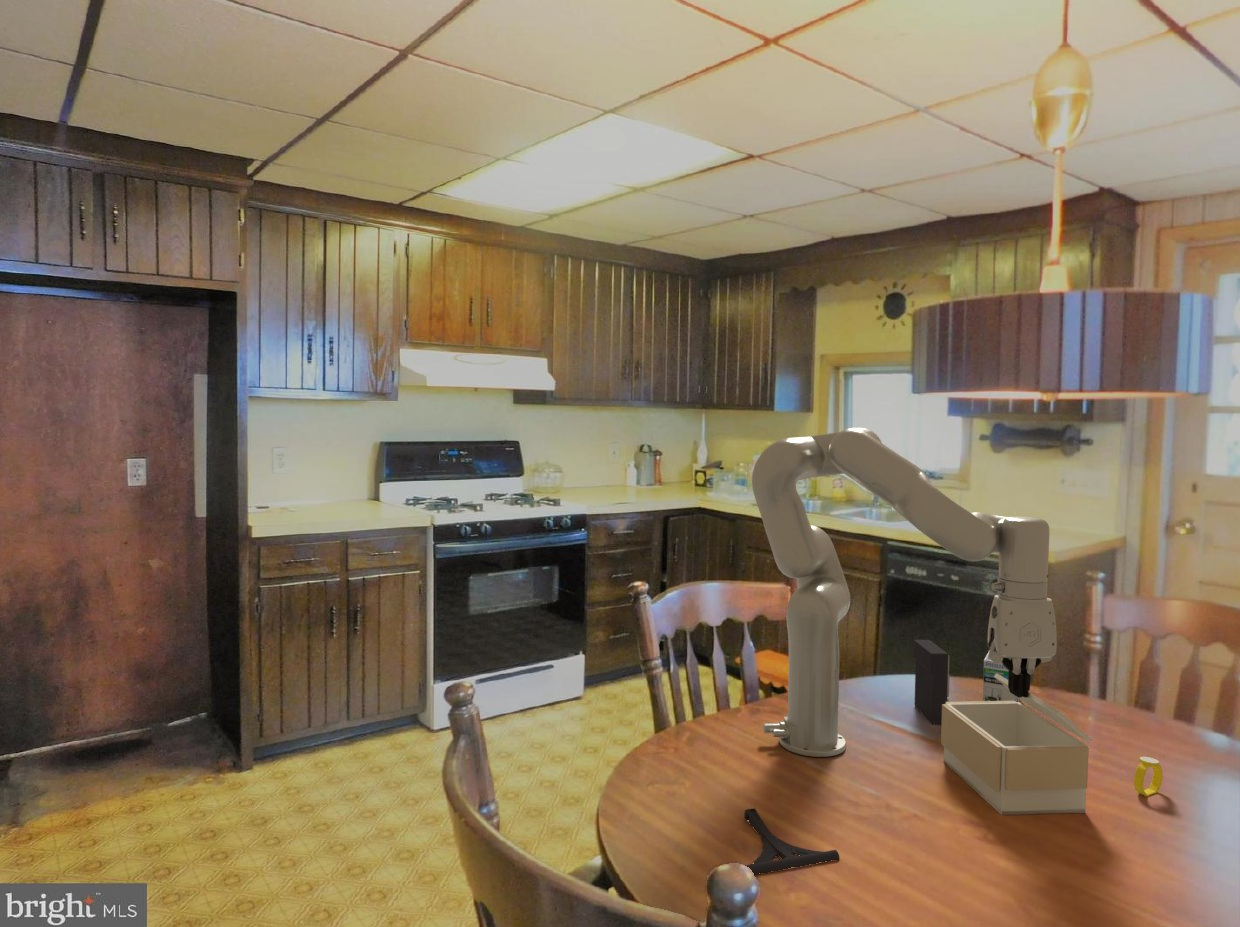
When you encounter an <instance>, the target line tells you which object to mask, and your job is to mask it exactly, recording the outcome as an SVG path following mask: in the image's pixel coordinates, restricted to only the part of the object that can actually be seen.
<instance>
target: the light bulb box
mask: <svg viewBox="0 0 1240 927" xmlns="http://www.w3.org/2000/svg"><path fill="white" fill-rule="evenodd" d="M989 651H990V649H988V653H987V654H986V655H985V657H984V659H983V679H982V680H983V682H982V684H983V685H982V701H1016V702H1019V703H1020V701H1021V700H1020V699H1019V698H1018V697H1017V696H1015V695H1014V694H1012V693H1010V691H1009V689H1008V688H1006V687H1005V686H1004V685H1003V684H1002V683H1001V682H1000V681H998V680H997V679H996V678H995V677H994V675H995V674H996V673H997V674H999V675H1001V676H1002V677H1004V678H1006V679H1007V680H1008V674H1009V670H1007V669H1006V667H1005V666H1004V665H1003V664H1001V663H997V662H993V661H991V660H990V659H988V655H989ZM1019 661H1020V658H1019Z"/></svg>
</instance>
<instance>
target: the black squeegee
mask: <svg viewBox="0 0 1240 927" xmlns="http://www.w3.org/2000/svg"><path fill="white" fill-rule="evenodd" d="M743 814H744V815H743V816H744V817H743V818H744V820H745V819H746V820H749V823H750V824H749V823H748V824H749V826H750V827H751V826H752V827H754V829H755V830H756V831H757V832H758V833H757V832H756V831H755V830H754V829H753V830H754V831H755V832H756V833H757V834H758V835H759V834H760V835H761V836H760V835H759V836H760V837H761V842H762V847H763V848H762V852H761V853H760V855H759V856H758V857H757V858H756V859H755V860H754V861H753V862H754V864H751V863H750V864H747V865H745V866H747V867H749V868H750V869H751V870H752V872H753V873H754V875H755V876H759V875H762V874H761V873H766V874H769V873H768V872H771V871H777V872H779V871H778V870H782V871H784V870H783V869H788V868H791V867H799V868H801V867H800V866H804V867H806V866H805V865H809V864H815V865H817V864H816V863H819V862H825V861H831V860H837V861H840V860H841V859H840V854H839V852H838V851H837V850H836V849H831V850H826V851H821V850H813V849H807V848H803V847H799V846H796V845H793V844H791V843H789V842H786V841H784V840H782V839H780V838H778V837H777V836H775V835H774V834H773V833H772V832H771V830H770V829H769V828H768V827H767V826H766V824H765V822H764V820H763V819H762V817H761V816H760V815H759V812H758V810H757V809H756V808H755V807H754V808H748V809H745V810H744V813H743ZM746 820H745V821H746ZM752 827H751V828H752ZM793 854H797V855H800V856H797V855H793ZM778 855H779V856H780V857H781V858H782V859H781V858H780V857H779V856H778ZM775 856H777V857H779V859H775V858H776V857H775ZM774 857H775V858H774ZM773 858H774V859H773ZM788 870H789V869H788ZM759 873H760V874H759ZM771 873H772V872H771Z"/></svg>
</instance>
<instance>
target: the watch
mask: <svg viewBox="0 0 1240 927" xmlns="http://www.w3.org/2000/svg"><path fill="white" fill-rule="evenodd" d="M1160 764H1161V763H1160V761H1159V760H1158V759H1156V758H1153V757H1149V756H1140V757H1139V764H1138V765H1137V767H1136V770H1135V772H1134V776H1133V777H1134V778H1133V785H1134V790H1135V791H1136V792H1137V793H1138V794H1139V795H1141V796H1143V795H1144V796H1143V797H1149V796H1152V795H1154V794H1155V795H1156V794H1157V793H1158V791H1159V790H1160V788H1161V785H1162V782H1163V769H1162V767H1161V765H1160ZM1150 767H1151V768H1152V773H1153V774H1152V779H1151V783H1150V784H1149V786H1148V788H1146V789H1145V788H1144V778H1145V775H1146V772H1147V771H1148V770H1149V768H1150Z"/></svg>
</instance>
